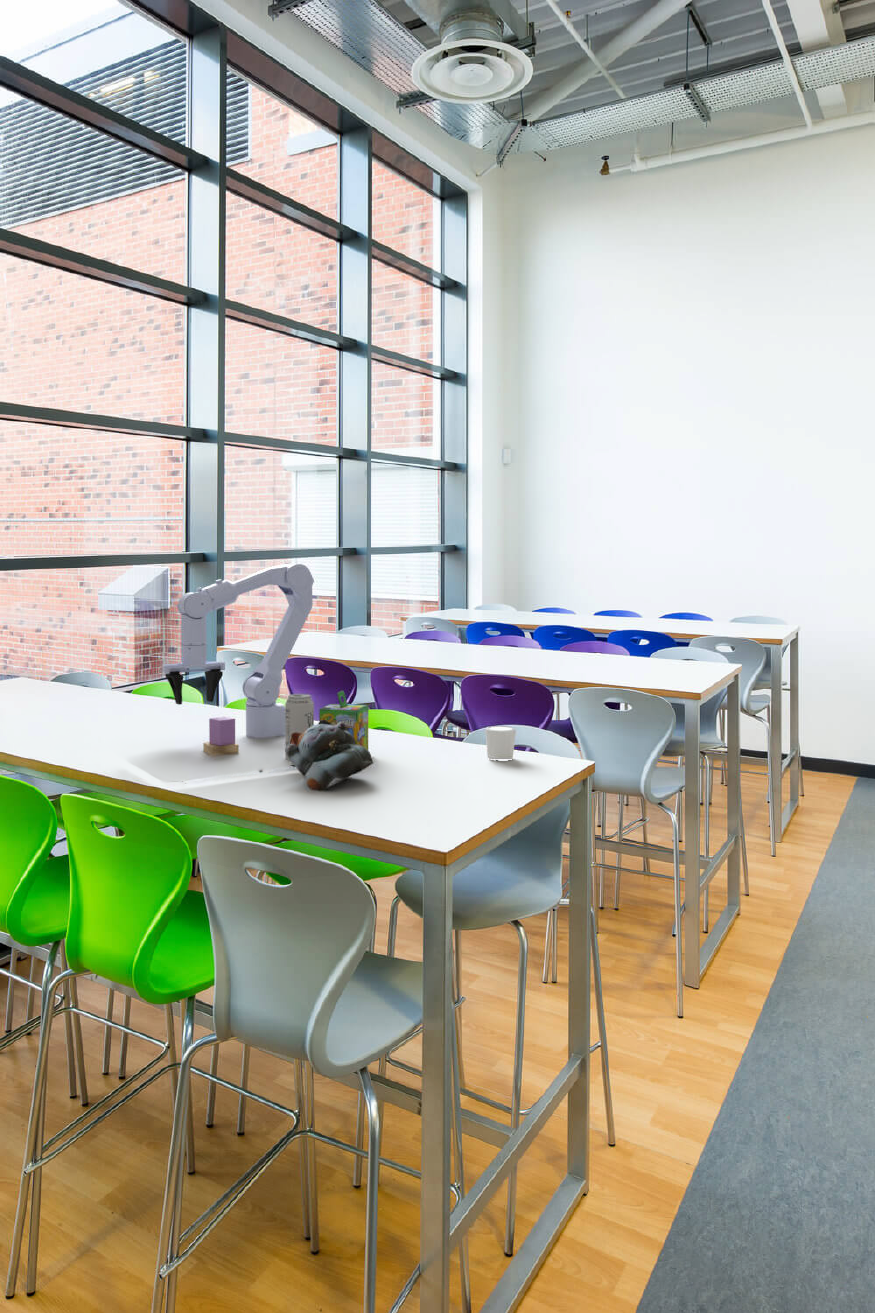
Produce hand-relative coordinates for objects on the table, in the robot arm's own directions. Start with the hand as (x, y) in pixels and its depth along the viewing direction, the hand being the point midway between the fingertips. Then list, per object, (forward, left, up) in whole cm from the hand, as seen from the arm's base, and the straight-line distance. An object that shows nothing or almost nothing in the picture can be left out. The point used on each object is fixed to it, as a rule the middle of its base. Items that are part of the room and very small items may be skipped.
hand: (194, 702), depth 209 cm
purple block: (0, +15, -7) cm, 17 cm away
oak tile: (0, +15, -9) cm, 18 cm away
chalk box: (-23, +29, -11) cm, 39 cm away
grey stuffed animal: (-8, +48, -11) cm, 50 cm away
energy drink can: (-11, +30, -11) cm, 34 cm away
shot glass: (-51, +50, -11) cm, 72 cm away
